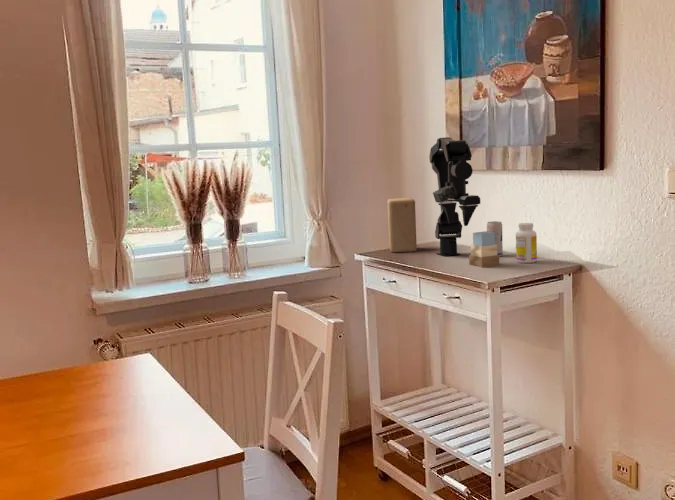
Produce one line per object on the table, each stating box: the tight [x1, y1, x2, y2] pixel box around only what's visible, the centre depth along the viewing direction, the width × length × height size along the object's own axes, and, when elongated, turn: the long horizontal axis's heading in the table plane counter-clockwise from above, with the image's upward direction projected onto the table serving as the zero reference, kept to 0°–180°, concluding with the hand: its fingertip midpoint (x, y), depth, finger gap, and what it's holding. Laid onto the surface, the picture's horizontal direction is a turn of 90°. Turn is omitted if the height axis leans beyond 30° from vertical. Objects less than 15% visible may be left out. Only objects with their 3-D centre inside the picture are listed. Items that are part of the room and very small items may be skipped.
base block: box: [468, 254, 500, 268], centre depth 226 cm, size 7×7×4 cm
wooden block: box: [386, 197, 418, 253], centre depth 263 cm, size 10×10×20 cm
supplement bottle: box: [515, 222, 538, 264], centre depth 227 cm, size 7×7×13 cm
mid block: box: [470, 243, 497, 257], centre depth 226 cm, size 6×6×4 cm
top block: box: [472, 230, 495, 246], centre depth 225 cm, size 5×5×4 cm
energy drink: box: [486, 220, 504, 258], centre depth 241 cm, size 5×5×12 cm
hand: (458, 224), depth 231 cm, fingers open, 9 cm apart
